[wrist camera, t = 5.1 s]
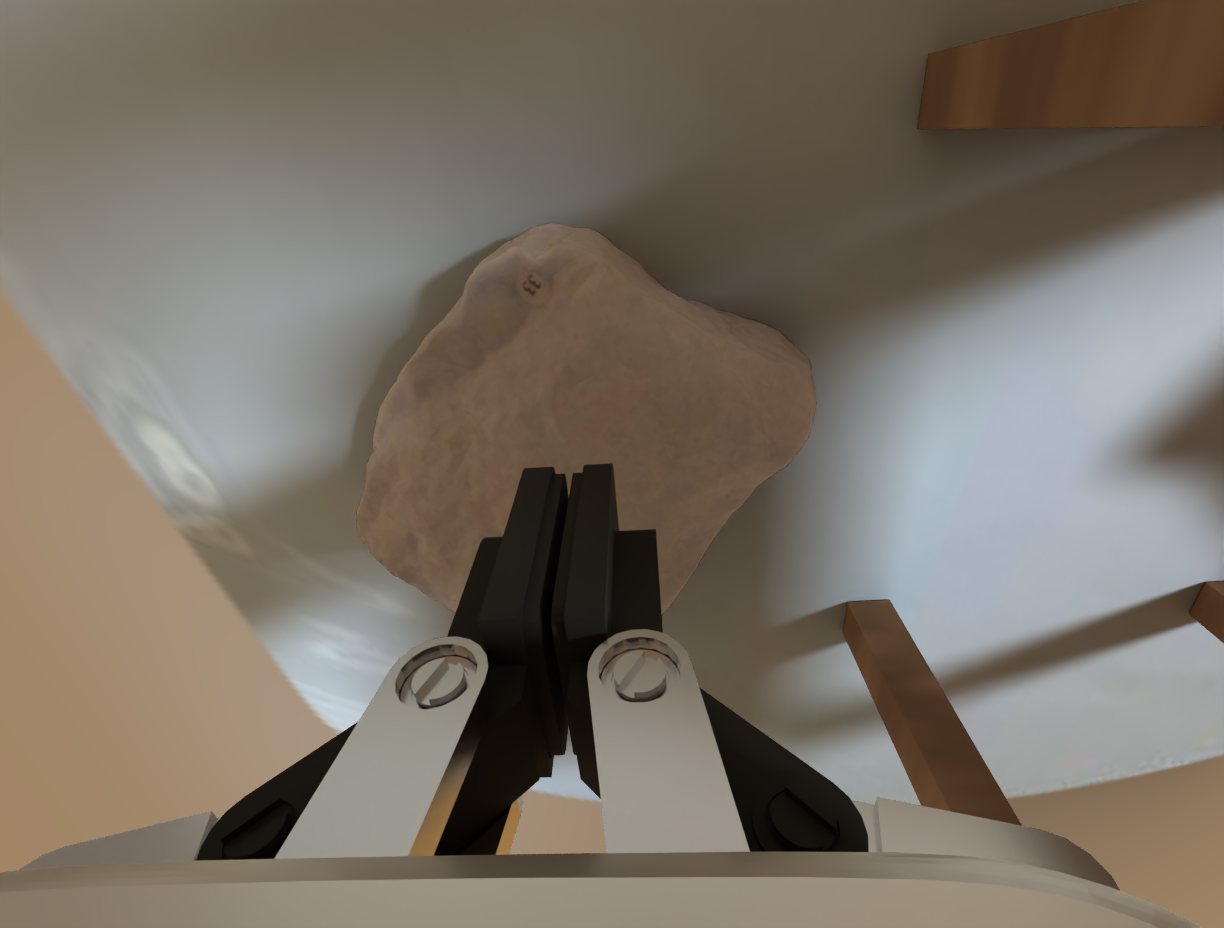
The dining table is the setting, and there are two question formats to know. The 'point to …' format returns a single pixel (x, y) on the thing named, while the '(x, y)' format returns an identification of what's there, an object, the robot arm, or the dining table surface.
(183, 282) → the dining table surface
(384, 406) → the stone block
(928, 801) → the stand
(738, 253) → the dining table surface
